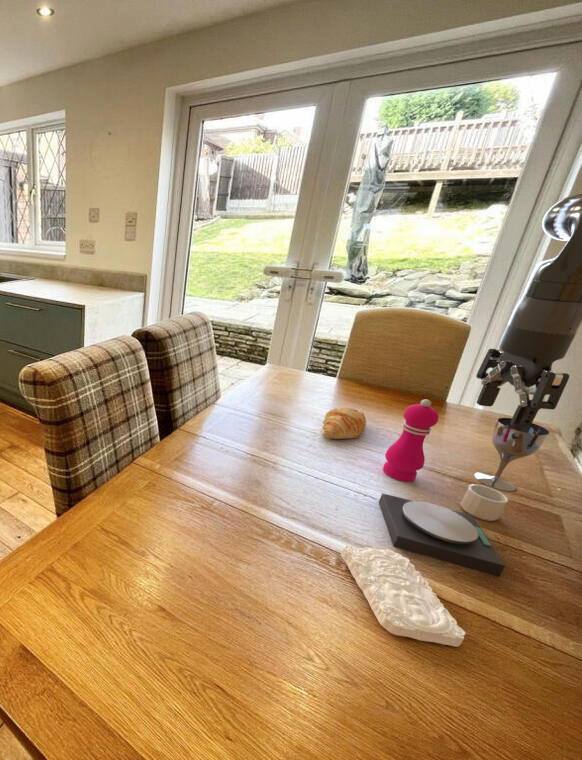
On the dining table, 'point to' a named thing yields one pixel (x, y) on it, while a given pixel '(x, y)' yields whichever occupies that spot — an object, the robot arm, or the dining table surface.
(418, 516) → the scale pan
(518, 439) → the wine glass
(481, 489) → the white short hollow cylinder
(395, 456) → the pepper mill
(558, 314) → the robot arm
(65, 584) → the dining table surface
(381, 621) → the carved plaster tablet
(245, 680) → the dining table surface
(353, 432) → the croissant
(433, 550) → the scale
